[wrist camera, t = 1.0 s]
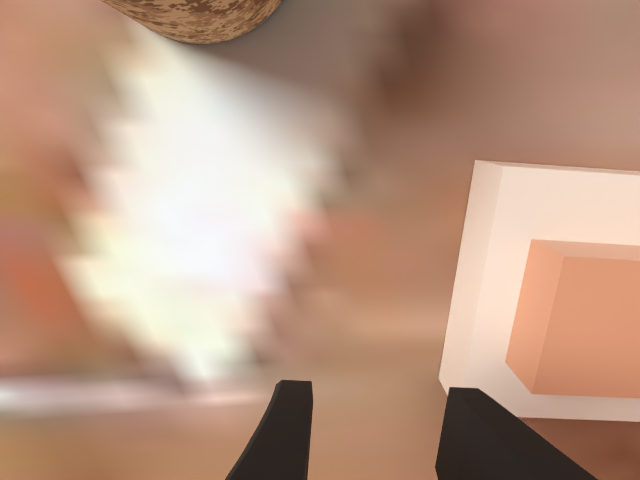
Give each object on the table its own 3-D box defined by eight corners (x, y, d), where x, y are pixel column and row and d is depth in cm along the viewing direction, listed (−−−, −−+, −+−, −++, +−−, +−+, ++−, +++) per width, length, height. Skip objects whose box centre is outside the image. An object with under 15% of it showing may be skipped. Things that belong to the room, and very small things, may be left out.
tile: (675, 369, 17) (724, 401, 15) (505, 362, 16) (531, 394, 14) (716, 250, 15) (775, 268, 13) (531, 239, 15) (564, 256, 13)
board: (685, 388, 20) (737, 425, 18) (438, 378, 19) (457, 414, 17) (759, 179, 17) (832, 188, 15) (475, 159, 17) (503, 166, 14)
